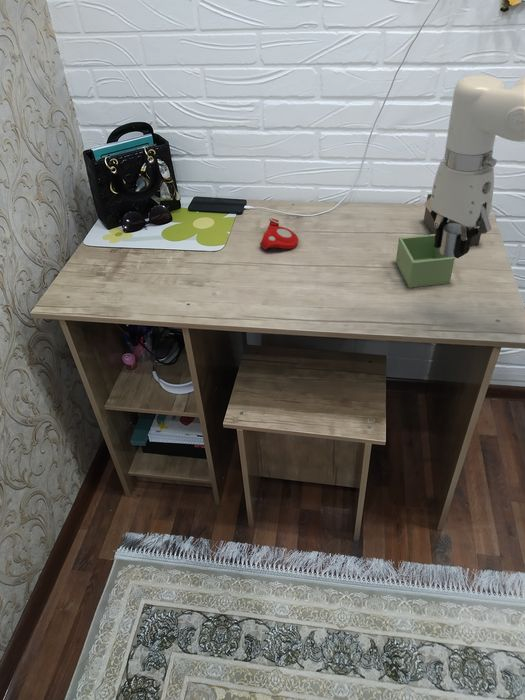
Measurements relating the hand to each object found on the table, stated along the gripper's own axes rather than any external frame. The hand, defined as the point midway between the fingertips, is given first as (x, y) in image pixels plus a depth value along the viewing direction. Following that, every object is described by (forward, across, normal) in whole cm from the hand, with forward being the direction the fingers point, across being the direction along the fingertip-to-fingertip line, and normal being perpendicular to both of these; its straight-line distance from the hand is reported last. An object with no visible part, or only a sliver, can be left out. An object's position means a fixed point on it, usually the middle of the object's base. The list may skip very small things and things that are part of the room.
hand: (450, 249), depth 108 cm
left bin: (+16, +12, -9) cm, 22 cm away
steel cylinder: (0, 0, 0) cm, 0 cm away
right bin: (+16, +19, -27) cm, 36 cm away
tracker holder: (+15, +45, +7) cm, 48 cm away
